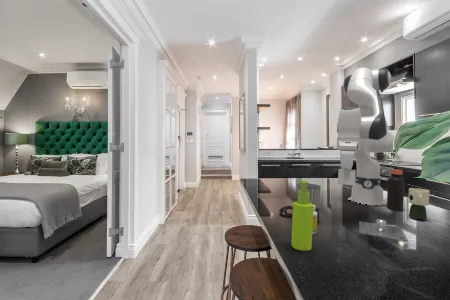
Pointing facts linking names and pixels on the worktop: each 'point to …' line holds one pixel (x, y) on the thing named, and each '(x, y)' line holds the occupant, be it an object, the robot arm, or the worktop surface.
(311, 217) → the soap dispenser
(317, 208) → the milk frother
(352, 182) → the chalk-like cube
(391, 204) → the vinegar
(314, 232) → the supplement bottle
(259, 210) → the worktop surface
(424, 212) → the character mug
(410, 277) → the worktop surface
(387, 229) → the plate
